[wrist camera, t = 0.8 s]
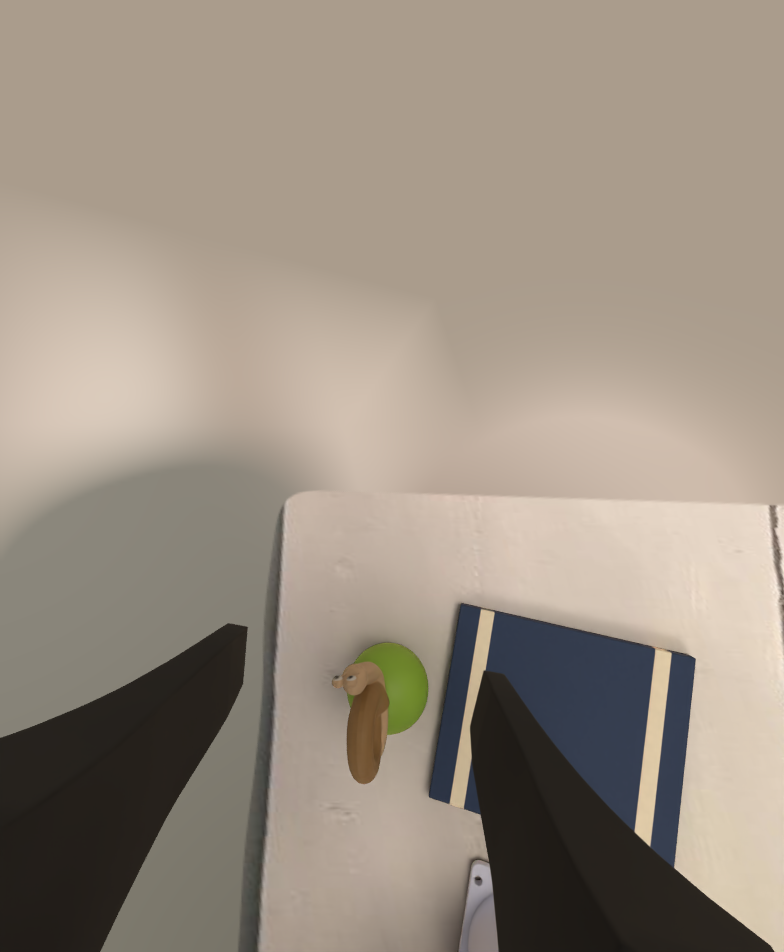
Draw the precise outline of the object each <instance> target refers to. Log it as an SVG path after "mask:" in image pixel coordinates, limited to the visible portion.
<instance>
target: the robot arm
mask: <svg viewBox="0 0 784 952" xmlns="http://www.w3.org/2000/svg"><path fill="white" fill-rule="evenodd" d="M247 628H248V627H245V626H240V625H235V624H226V625H225V626H223V627H221V628H220V629H218V630H217V631H215V632H214V633H212V634H211V635H209V636H207V637H206V638H204V639H203V640H201V641H200V642H198V643H197V644H195V645H194V646H192V647H190V648H189V649H187V650H185V651H184V652H182V653H181V654H179V655H178V656H176V657H174V658H173V659H171V660H169V661H168V662H166V663H164V664H163V665H161V666H159V667H157V668H156V669H154V670H152V671H150V672H148V673H147V674H145V675H143V676H141V677H140V678H138V679H136V680H134V681H133V682H131V683H129V684H127V685H125V686H123V687H121V688H119V689H117V690H116V691H113V692H111V693H109V694H107V695H105V696H103V697H101V698H99V699H97V700H94V701H92V702H90V703H88V704H86V705H84V706H81V707H79V708H77V709H74V710H72V711H70V712H67V713H65V714H62V715H60V716H57V717H55V718H52V719H50V720H47V721H45V722H43V723H40V724H38V725H35V726H32V727H30V728H27V729H24V730H22V731H19V732H16V733H13V734H11V735H8V736H5V737H2V738H0V952H100V951H101V949H102V947H103V944H104V942H105V940H106V938H107V936H108V934H109V932H110V930H111V928H112V926H113V923H114V921H115V919H116V917H117V915H118V912H119V911H120V909H121V907H122V905H123V903H124V901H125V899H126V897H127V894H128V893H129V891H130V888H131V887H132V885H133V883H134V881H135V879H136V877H137V875H138V872H139V870H140V868H141V866H142V864H143V862H144V860H145V858H146V856H147V854H148V853H149V851H150V849H151V847H152V845H153V843H154V841H155V839H156V837H157V835H158V833H159V831H160V829H161V827H162V825H163V823H164V821H165V819H166V818H167V816H168V814H169V812H170V811H171V809H172V807H173V805H174V803H175V802H176V800H177V798H178V797H179V795H180V794H181V792H182V790H183V789H184V787H185V785H186V784H187V782H188V781H189V779H190V777H191V776H192V774H193V773H194V771H195V769H196V768H197V766H198V764H199V763H200V761H201V759H202V758H203V756H204V755H205V753H206V751H207V750H208V748H209V746H210V745H211V743H212V742H213V740H214V738H215V737H216V735H217V734H218V732H219V730H220V729H221V727H222V725H223V724H224V722H225V720H226V718H227V717H228V715H229V713H230V710H231V708H232V706H233V704H234V702H235V700H236V698H237V696H238V694H239V691H240V689H241V687H242V685H243V677H244V665H245V653H246V641H247ZM470 739H471V755H472V766H473V772H474V778H475V784H476V790H477V796H478V802H479V807H480V813H481V818H482V824H483V830H484V835H485V841H486V847H487V852H488V858H489V863H487V862H484V861H481V860H475V861H474V862H473V863H472V866H471V873H470V879H469V886H468V892H467V899H466V905H465V912H464V918H463V925H462V931H461V938H460V944H459V951H458V952H774V950H773V949H772V947H771V946H770V945H769V944H768V943H766V942H765V941H764V940H762V939H761V938H760V937H759V936H757V935H756V934H755V933H753V932H752V931H751V930H750V929H748V928H747V927H746V926H744V925H743V924H742V923H741V922H739V921H738V920H737V919H735V918H734V917H733V916H732V915H730V914H729V913H728V912H726V911H725V910H724V909H723V908H721V907H720V906H719V905H717V904H716V903H715V902H714V901H712V900H711V899H710V898H709V897H707V896H706V895H705V894H704V893H702V892H701V891H700V890H699V889H698V888H697V887H695V886H694V885H693V884H692V883H691V882H690V881H688V880H687V879H686V878H685V877H684V876H683V875H681V874H680V873H679V872H678V871H677V870H676V869H674V868H673V867H672V866H671V865H670V864H669V863H668V862H666V861H665V860H664V859H663V858H662V857H661V856H660V855H659V854H657V853H656V852H655V851H654V850H653V849H652V848H651V847H650V846H649V845H648V844H647V843H646V842H645V841H643V840H642V839H641V838H640V837H639V836H638V835H637V834H636V833H635V832H634V831H633V830H632V829H631V828H630V827H629V826H628V825H627V824H626V823H625V822H624V821H623V820H622V819H621V818H620V817H619V816H618V815H617V814H616V813H615V812H614V811H613V810H612V809H611V808H610V807H609V806H608V805H607V804H606V803H605V802H604V801H603V800H602V799H601V798H600V796H599V795H598V794H597V793H596V792H595V791H594V790H593V789H592V788H591V787H590V786H589V785H588V784H587V782H586V781H585V780H584V779H583V778H582V777H581V776H580V774H579V773H578V772H577V771H576V770H575V769H574V767H573V766H572V765H571V764H570V763H569V761H568V760H567V759H566V758H565V756H564V755H563V754H562V753H561V752H560V750H559V749H558V748H557V747H556V745H555V744H554V743H553V741H552V740H551V739H550V738H549V736H548V735H547V734H546V732H545V731H544V730H543V728H542V727H541V726H540V724H539V723H538V721H537V720H536V719H535V717H534V716H533V715H532V713H531V712H530V710H529V709H528V707H527V706H526V705H525V703H524V702H523V700H522V699H521V697H520V696H519V695H518V693H517V692H516V690H515V689H514V687H513V686H512V684H511V683H510V682H509V680H508V679H507V677H506V676H505V674H502V673H496V672H491V671H485V670H484V671H483V675H482V679H481V683H480V687H479V691H478V695H477V699H476V703H475V707H474V711H473V715H472V720H471V724H470ZM476 876H478V877H480V878H481V880H476V879H475V877H476Z"/></svg>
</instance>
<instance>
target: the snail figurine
mask: <svg viewBox="0 0 784 952" xmlns="http://www.w3.org/2000/svg"><path fill="white" fill-rule="evenodd" d="M332 684H333V686H334V687H335V688H340V687H342V685H343V688H344V690H345V691H346V692H347V696H348V701H349V705H350V708H351V709H350V714H349V718H348V726H347V756H348V764H349V769H350V772H351V774H352V776H353V778H354V779H355V780H356V781H357V782H358V783H361V784H367V783H369V782H371V781H372V780H373V779H374V778H375V776H376V774H377V772H378V769H379V765H380V758H381V755H382V753H383V751H384V747H385V743H386V738H387V735H392V734H397V733H400V732H403V731H405V730H406V729H408V728H409V727H411V726H412V725H413V724H414V723H415V722H416V721H417V720H418V719H419V717H420V716H421V714H422V712H423V710H424V708H425V705H426V702H427V697H428V679H427V675H426V672H425V669H424V667H423V665H422V663H421V661H420V660H419V659H418V657H417V656H416V655H415V654H414V653H413V652H412V651H411V650H409V649H408V648H406V647H404V646H402V645H399V644H396V643H380V644H376V645H374V646H372V647H370V648H368V649H366V650H365V651H364V652H363V653H362V654H361V655H360V656H359V657H358V658H357V659H356V661H355V662H354V664H351V665H349V666H348V667H347V668H346V669H345V670H344V672H343V675H342V676H335V677H334V678H333V680H332Z"/></svg>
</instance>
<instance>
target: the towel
mask: <svg viewBox="0 0 784 952" xmlns="http://www.w3.org/2000/svg"><path fill="white" fill-rule="evenodd" d="M695 661H696V659H695V658H694V657H692V656H690V655H687V654H683V653H678V652H674V651H670V650H665V649H661V648H657V647H652V646H648V645H643V644H639V643H635V642H630V641H626V640H621V639H617V638H613V637H608V636H604V635H600V634H595V633H591V632H586V631H582V630H578V629H573V628H569V627H565V626H560V625H556V624H551V623H547V622H543V621H538V620H534V619H530V618H525V617H521V616H516V615H512V614H508V613H503V612H499V611H495V610H490V609H486V608H482V607H477V606H473V605H468V604H464V603H461V606H460V612H459V618H458V624H457V630H456V636H455V642H454V648H453V653H452V659H451V665H450V671H449V677H448V683H447V689H446V695H445V701H444V707H443V713H442V719H441V725H440V731H439V737H438V743H437V749H436V755H435V761H434V767H433V773H432V779H431V785H430V791H429V797H430V798H433V799H436V800H439V801H442V802H445V803H448V804H450V805H453V806H456V807H459V808H462V809H466V810H469V811H472V812H475V813H478V814H481V813H480V807H479V802H478V796H477V790H476V784H475V778H474V772H473V766H472V755H471V739H470V724H471V720H472V715H473V711H474V707H475V703H476V699H477V695H478V691H479V687H480V683H481V679H482V675H483V671H484V670H485V671H491V672H496V673H502V674H505V676H506V677H507V679H508V680H509V682H510V683H511V684H512V686H513V687H514V689H515V690H516V692H517V693H518V695H519V696H520V697H521V699H522V700H523V702H524V703H525V705H526V706H527V707H528V709H529V710H530V712H531V713H532V715H533V716H534V717H535V719H536V720H537V721H538V723H539V724H540V726H541V727H542V728H543V730H544V731H545V732H546V734H547V735H548V736H549V738H550V739H551V740H552V741H553V743H554V744H555V745H556V747H557V748H558V749H559V750H560V752H561V753H562V754H563V755H564V756H565V758H566V759H567V760H568V761H569V763H570V764H571V765H572V766H573V767H574V769H575V770H576V771H577V772H578V773H579V774H580V776H581V777H582V778H583V779H584V780H585V781H586V782H587V784H588V785H589V786H590V787H591V788H592V789H593V790H594V791H595V792H596V793H597V794H598V795H599V796H600V798H601V799H602V800H603V801H604V802H605V803H606V804H607V805H608V806H609V807H610V808H611V809H612V810H613V811H614V812H615V813H616V814H617V815H618V816H619V817H620V818H621V819H622V820H623V821H624V822H625V823H626V824H627V825H628V826H629V827H630V828H631V829H632V830H633V831H634V832H635V833H636V834H637V835H638V836H639V837H640V838H641V839H642V840H643V841H645V842H646V843H647V844H648V845H649V846H650V847H651V848H652V849H653V850H654V851H655V852H656V853H657V854H659V855H660V856H661V857H662V858H663V859H664V860H665V861H666V862H668V863H669V864H670V865H671V866H672V867H673V868H674V863H675V853H676V843H677V834H678V824H679V815H680V805H681V795H682V786H683V776H684V767H685V757H686V748H687V738H688V728H689V719H690V709H691V700H692V690H693V680H694V671H695Z"/></svg>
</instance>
